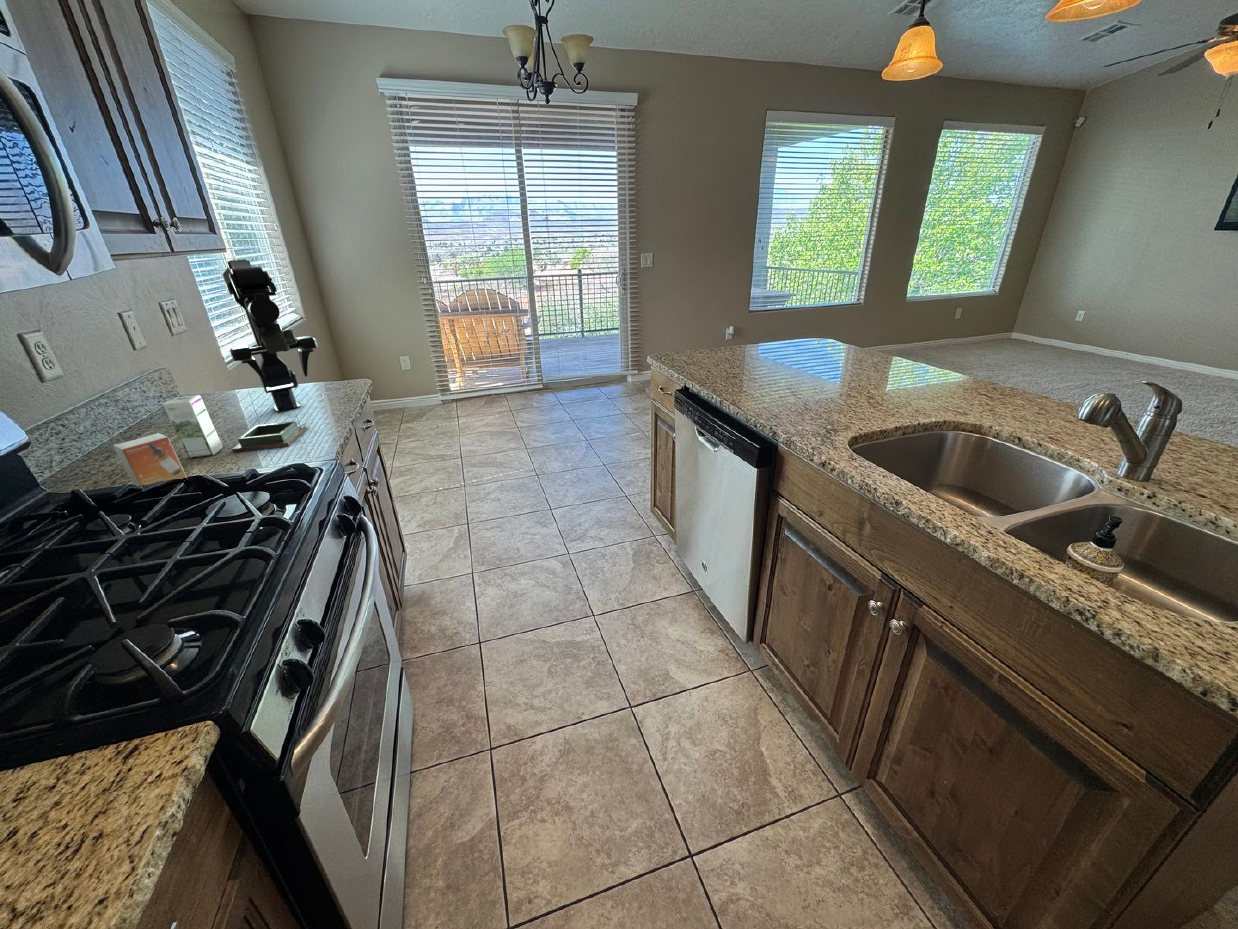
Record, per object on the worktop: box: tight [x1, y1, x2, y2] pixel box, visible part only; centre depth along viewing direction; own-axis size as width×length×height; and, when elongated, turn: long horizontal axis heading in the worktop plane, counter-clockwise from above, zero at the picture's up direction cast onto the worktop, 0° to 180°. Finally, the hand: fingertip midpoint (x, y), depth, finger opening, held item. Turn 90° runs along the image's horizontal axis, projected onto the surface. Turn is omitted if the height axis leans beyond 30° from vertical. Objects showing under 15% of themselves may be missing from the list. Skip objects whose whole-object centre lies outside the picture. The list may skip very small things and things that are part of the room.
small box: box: [112, 432, 188, 486], centre depth 106 cm, size 8×6×10 cm
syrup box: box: [162, 394, 224, 459], centre depth 121 cm, size 6×6×14 cm
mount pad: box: [231, 421, 308, 454], centre depth 129 cm, size 13×13×3 cm
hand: (286, 380), depth 130 cm, fingers open, 9 cm apart
